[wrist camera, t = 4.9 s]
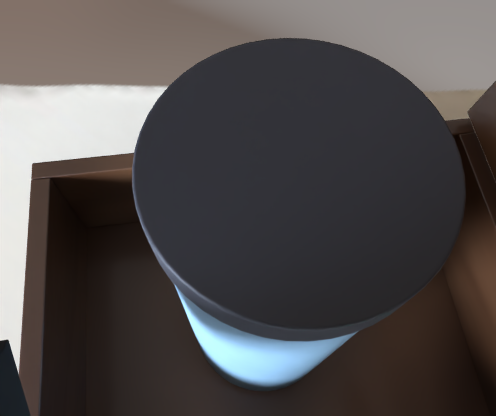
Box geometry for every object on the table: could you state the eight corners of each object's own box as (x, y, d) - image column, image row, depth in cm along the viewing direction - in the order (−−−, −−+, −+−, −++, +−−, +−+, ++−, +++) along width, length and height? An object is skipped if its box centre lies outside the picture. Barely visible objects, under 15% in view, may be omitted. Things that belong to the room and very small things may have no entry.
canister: (176, 376, 22) (80, 284, 8) (211, 243, 25) (182, 14, 11) (320, 409, 21) (464, 369, 8) (339, 270, 24) (469, 65, 11)
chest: (69, 600, 19) (-2, 671, 13) (76, 222, 26) (31, 162, 20) (533, 519, 21) (647, 552, 15) (421, 182, 28) (470, 117, 22)
